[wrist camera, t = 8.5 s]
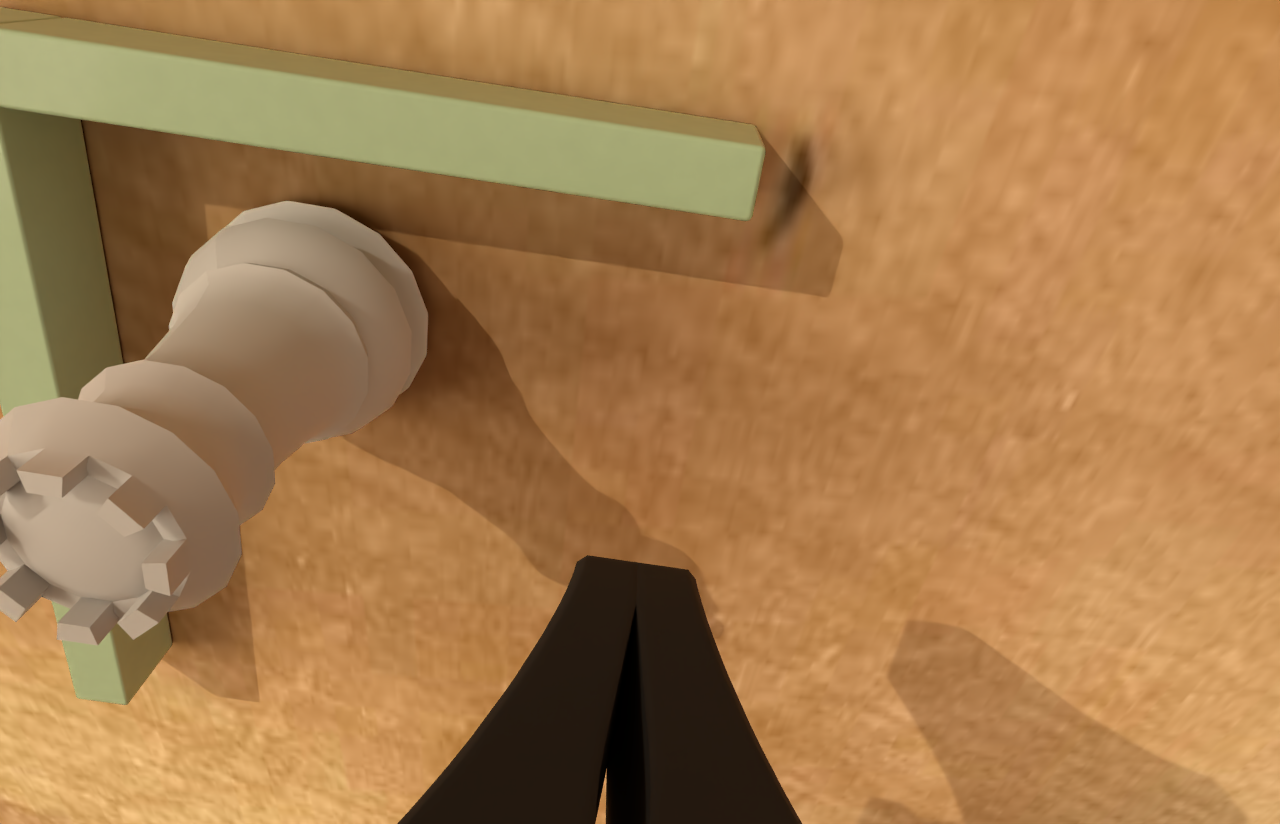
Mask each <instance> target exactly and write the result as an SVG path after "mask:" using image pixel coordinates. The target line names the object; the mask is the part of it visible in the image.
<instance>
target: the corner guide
mask: <svg viewBox="0 0 1280 824" xmlns="http://www.w3.org/2000/svg"><path fill="white" fill-rule="evenodd" d="M81 120H87V121H93V122H100V123H106V124H113V125H119V126H126V127H132V128H139V129H146V130H152V131H159V132H165V133H172V134H178V135H185V136H191V137H198V138H204V139H211V140H217V141H224V142H231V143H237V144H244V145H250V146H257V147H263V148H270V149H276V150H283V151H289V152H296V153H303V154H309V155H316V156H322V157H329V158H335V159H342V160H348V161H355V162H361V163H368V164H375V165H381V166H388V167H394V168H401V169H407V170H414V171H420V172H427V173H433V174H440V175H447V176H453V177H460V178H466V179H473V180H479V181H486V182H492V183H499V184H505V185H512V186H519V187H525V188H532V189H538V190H545V191H551V192H558V193H564V194H571V195H577V196H584V197H591V198H597V199H604V200H610V201H617V202H623V203H630V204H636V205H643V206H649V207H656V208H662V209H669V210H676V211H682V212H689V213H695V214H702V215H708V216H715V217H721V218H728V219H734V220H741V221H749V220H750V219H751V218H752V216H753V211H754V206H755V202H756V197H757V192H758V187H759V182H760V178H761V173H762V168H763V163H764V158H765V153H766V151H765V147H764V144H763V142H762V139H761V137H760V134H759V132H758V130H757V127H756V126H754V125H753V124H747V123H740V122H734V121H727V120H721V119H715V118H708V117H702V116H695V115H689V114H682V113H676V112H670V111H663V110H657V109H650V108H644V107H637V106H631V105H625V104H618V103H612V102H605V101H599V100H593V99H586V98H580V97H573V96H567V95H560V94H554V93H548V92H541V91H535V90H528V89H522V88H515V87H509V86H503V85H496V84H490V83H483V82H477V81H470V80H464V79H458V78H451V77H445V76H438V75H432V74H426V73H419V72H413V71H406V70H400V69H393V68H387V67H381V66H374V65H368V64H361V63H355V62H348V61H342V60H336V59H329V58H323V57H316V56H310V55H303V54H297V53H291V52H284V51H278V50H271V49H265V48H259V47H252V46H246V45H239V44H233V43H226V42H220V41H214V40H207V39H201V38H194V37H188V36H181V35H175V34H169V33H162V32H156V31H149V30H143V29H136V28H130V27H124V26H117V25H111V24H104V23H98V22H92V21H85V20H79V19H72V18H61V17H59V16H55V15H48V14H42V13H36V12H29V11H23V10H16V9H10V8H4V7H0V405H1V409H2V413H3V416H5V415H6V414H7V413H9V412H10V411H11V410H12V409H13V408H14V407H18V406H23V405H27V404H32V403H37V402H41V401H46V400H51V399H55V398H60V397H65V398H71V399H78V398H79V395H80V392H81V389H82V388H83V387H84V386H85V385H86V384H87V383H89V382H90V381H91V380H92V379H93V378H95V377H96V376H97V375H98V374H99V373H101V372H102V371H103V370H104V369H105V368H107V367H112V366H116V365H121V364H123V359H122V353H121V348H120V342H119V336H118V330H117V325H116V319H115V313H114V308H113V302H112V296H111V290H110V285H109V279H108V273H107V268H106V262H105V256H104V250H103V245H102V239H101V233H100V228H99V222H98V216H97V210H96V205H95V199H94V193H93V188H92V182H91V176H90V170H89V165H88V159H87V153H86V148H85V142H84V136H83V130H82V125H81ZM52 605H53V609H54V612H55V616H56V620H57V623H58V622H59V621H60V620H61V619H62V617H63V616H64V615H65V614H66V613H67V612H68V611H69V610H70V609H69V608H67V607H65V606H62V605H60V604H58V603H55V602H53V601H52ZM62 643H63V647H64V651H65V655H66V658H67V662H68V666H69V670H70V674H71V678H72V681H73V685H74V689H75V693H76V697H77V698H79V699H86V700H93V701H100V702H108V703H115V704H122V705H127V704H128V703H129V702H130V701H131V699H132V698H133V697H134V695H135V694H136V693H137V691H138V690H139V689H140V687H141V686H142V685H143V683H144V682H145V680H146V679H147V678H148V676H149V675H150V674H151V672H152V671H153V670H154V668H155V667H156V666H157V664H158V663H159V662H160V660H161V659H162V658H163V656H164V655H165V654H166V652H167V651H168V650H169V648H170V647H171V646H172V639H171V633H170V628H169V622H168V616H167V613H166V615H165V616H164V617H163V618H162V620H161V621H160V622H159V623H158V624H156V625H155V626H153V627H152V628H150V629H149V630H147V631H146V632H144V633H143V634H141V635H140V636H138V637H137V638H135V639H134V640H133V639H132V638H131V637H130V636H129V635H128V634H127V633H126V632H125V631H124V630H123V629H122V628H121V627H120V625H119V624H118V622H117V624H116V625H115V626H114V627H113V628H112V629H111V631H110V632H109V633H108V634H107V635H106V637H105V638H104V639H103V640H102V641H101V642H100V644H99V645H98V646H97V645H91V644H84V643H77V642H71V641H64V640H62Z"/></svg>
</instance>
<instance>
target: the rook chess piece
mask: <svg viewBox="0 0 1280 824" xmlns="http://www.w3.org/2000/svg"><path fill="white" fill-rule="evenodd" d="M172 306H173V315H172V318H171V321H170V323H169V332H168V333H167V334H166V335H165V336H164V337H163V338H162V340H161V341H160V342H159V343H158V344H157V345H156V346H155V348H154V349H153V350H152V351H151V352H150V353H149V354H148V356H147V357H146V358H145V359H144V360H139V361H135V362H130V363H125V364H121V365H116V366H112V367H107V368H105V369H104V370H103V371H102V372H101V373H99V374H98V375H97V376H96V377H95V378H93V379H92V380H91V381H90V382H89V383H87V384H86V385H85V386H84V387H83V388H82V389H81V392H80V395H79V398H78V399H71V398H65V397H60V398H55V399H51V400H46V401H41V402H37V403H32V404H27V405H23V406H18V407H14V408H13V409H12V410H11V411H10V412H9V413H7V414H6V415H5V416H4V417H3V418H2V419H0V561H1V562H2V564H3V565H4V566H5V568H6V569H7V570H8V571H7V572H6V573H5V574H4V575H3V576H1V577H0V611H2V612H3V613H4V614H6V615H7V616H8V617H10V618H11V619H12V620H14V621H15V622H17V621H18V620H19V619H20V618H21V617H22V616H23V615H24V614H25V613H26V612H27V611H28V610H29V609H30V608H31V607H32V606H33V605H34V604H35V603H36V602H37V601H38V600H39V599H40V598H41V597H44V598H46V599H48V600H51V601H53V602H55V603H58V604H60V605H62V606H65V607H67V608H69V609H70V610H69V611H68V612H67V613H66V614H65V615H64V616H63V617H62V619H61V620H60V621H59V622H58V623H57V639H58V640H64V641H71V642H77V643H84V644H91V645H97V646H98V645H99V644H100V642H101V641H102V640H103V639H104V638H105V637H106V635H107V634H108V633H109V632H110V631H111V629H112V628H113V627H114V626H115V625H116V624H117V622H118V624H119V625H120V627H121V628H122V629H123V630H124V631H125V632H126V633H127V634H128V635H129V636H130V637H131V638H132V639H133V640H134V639H135V638H137V637H138V636H140V635H141V634H143V633H144V632H146V631H147V630H149V629H150V628H152V627H153V626H155V625H156V624H158V623H159V622H160V621H161V620H162V618H163V617H164V616H165V615H166V613H167V612H170V611H176V610H182V609H188V608H194V607H196V606H198V605H199V604H201V603H202V602H204V601H205V600H207V599H208V598H210V597H211V596H213V595H214V594H216V593H217V592H219V591H220V590H222V589H223V588H225V587H226V586H227V584H228V582H229V580H230V578H231V576H232V574H233V572H234V570H235V567H236V565H237V563H238V561H239V559H240V557H241V555H242V549H241V538H240V527H239V526H240V525H241V524H242V523H244V522H245V521H247V520H248V519H250V518H251V517H253V516H254V515H256V514H257V513H258V512H260V511H261V510H263V507H264V505H265V503H266V501H267V499H268V497H269V495H270V493H271V491H272V489H273V487H274V484H275V473H274V471H275V470H276V468H277V467H278V466H279V465H280V464H281V463H282V462H283V461H284V460H285V459H287V458H288V457H289V456H290V455H291V454H293V453H294V452H295V451H296V450H297V449H299V448H300V447H301V446H302V445H303V444H305V443H310V442H315V441H320V440H325V439H328V438H331V437H336V436H342V435H347V434H352V433H353V432H355V431H357V430H359V429H361V428H362V427H364V426H365V425H366V424H368V423H369V422H371V421H372V420H374V419H375V418H377V417H378V416H379V415H381V414H382V413H384V412H385V411H387V410H388V409H389V408H391V407H392V406H393V405H394V403H395V401H396V399H397V397H398V395H399V394H401V393H402V392H404V391H405V390H407V389H408V388H409V387H410V385H411V383H412V381H413V379H414V377H415V375H416V374H417V372H418V370H419V368H420V366H421V364H422V363H423V361H424V359H425V357H426V355H427V334H428V312H427V309H426V307H425V304H424V301H423V299H422V296H421V294H420V291H419V288H418V286H417V283H416V280H415V278H414V275H413V272H412V271H411V270H410V268H409V267H408V266H407V265H406V264H405V263H404V262H403V260H402V259H401V258H400V257H399V256H398V255H397V254H396V252H395V251H394V250H393V249H392V248H391V247H390V245H389V244H388V243H387V242H386V241H385V240H384V239H383V237H382V236H381V235H380V234H379V233H377V232H375V231H373V230H372V229H370V228H368V227H366V226H365V225H363V224H361V223H359V222H358V221H356V220H354V219H352V218H351V217H349V216H347V215H345V214H344V213H342V212H340V211H338V210H337V209H334V208H328V207H322V206H316V205H310V204H305V203H299V202H293V201H283V202H279V203H275V204H271V205H266V206H262V207H258V208H254V209H250V210H246V211H243V212H242V213H241V214H240V215H238V216H237V217H236V218H235V219H234V220H233V221H232V222H230V223H229V224H228V225H227V226H226V227H225V228H222V229H221V230H220V231H219V232H218V233H217V234H215V235H214V236H213V237H212V238H211V239H210V240H209V241H207V242H206V243H205V244H204V245H203V246H202V247H200V248H199V249H198V250H197V251H196V252H195V253H194V254H192V255H191V257H190V259H189V261H188V263H187V264H186V266H185V269H184V272H183V274H182V277H181V280H180V283H179V286H178V288H177V291H176V294H175V297H174V300H173V302H172Z"/></svg>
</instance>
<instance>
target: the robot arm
mask: <svg viewBox="0 0 1280 824" xmlns="http://www.w3.org/2000/svg"><path fill="white" fill-rule="evenodd" d="M606 768H607V786H606V824H802V823H801V821H800V819H799V817H798V816H797V814H796V812H795V810H794V809H793V807H792V805H791V803H790V801H789V799H788V798H787V796H786V794H785V792H784V790H783V789H782V787H781V785H780V783H779V781H778V779H777V777H776V775H775V773H774V771H773V769H772V767H771V766H770V764H769V762H768V760H767V758H766V756H765V754H764V752H763V750H762V748H761V746H760V744H759V742H758V740H757V738H756V736H755V734H754V732H753V729H752V727H751V725H750V723H749V721H748V719H747V717H746V714H745V712H744V710H743V708H742V705H741V703H740V701H739V699H738V696H737V694H736V692H735V690H734V687H733V685H732V683H731V681H730V678H729V676H728V674H727V671H726V669H725V666H724V664H723V661H722V659H721V656H720V654H719V651H718V648H717V646H716V643H715V640H714V638H713V635H712V632H711V630H710V627H709V624H708V621H707V618H706V615H705V612H704V609H703V606H702V602H701V599H700V595H699V592H698V588H697V584H696V579H695V578H694V577H693V575H692V574H691V573H690V572H689V570H685V569H678V568H671V567H665V566H658V565H651V564H644V563H637V562H630V561H623V560H616V559H609V558H602V557H595V556H588V555H587V556H586V557H584V558H582V559H581V560H579V561H577V564H576V567H575V570H574V573H573V576H572V578H571V581H570V583H569V585H568V588H567V590H566V592H565V594H564V596H563V598H562V600H561V602H560V604H559V606H558V608H557V610H556V612H555V613H554V615H553V617H552V619H551V620H550V622H549V624H548V626H547V628H546V629H545V631H544V633H543V634H542V636H541V638H540V639H539V641H538V642H537V644H536V645H535V647H534V649H533V650H532V652H531V653H530V655H529V656H528V658H527V659H526V661H525V663H524V664H523V666H522V667H521V669H520V670H519V672H518V674H517V675H516V677H515V678H514V680H513V681H512V682H511V684H510V685H509V687H508V688H507V690H506V691H505V692H504V694H503V695H502V696H501V698H500V699H499V700H498V702H497V703H496V704H495V706H494V707H493V708H492V710H491V711H490V713H489V714H488V715H487V717H486V718H485V719H484V721H483V722H482V723H481V725H480V726H479V727H478V729H477V730H476V731H475V733H474V734H473V735H472V737H471V738H470V739H469V741H468V742H467V743H466V744H465V746H464V747H463V748H462V749H461V751H460V752H459V753H458V754H457V756H456V757H455V758H454V759H453V761H452V762H451V763H450V764H449V765H448V767H447V768H446V769H445V770H444V771H443V773H442V774H441V775H440V776H439V777H438V779H437V780H436V781H435V782H434V783H433V784H432V785H431V787H430V788H429V789H428V790H427V791H426V792H425V793H424V795H423V796H422V797H421V798H420V799H419V800H418V801H417V803H416V804H415V805H414V806H413V807H412V808H411V809H410V811H409V812H408V813H407V814H406V815H405V816H404V817H403V818H402V819H401V820H400V821H399V822H398V824H595V822H596V817H597V812H598V807H599V802H600V798H601V793H602V788H603V783H604V778H605V773H606Z"/></svg>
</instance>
